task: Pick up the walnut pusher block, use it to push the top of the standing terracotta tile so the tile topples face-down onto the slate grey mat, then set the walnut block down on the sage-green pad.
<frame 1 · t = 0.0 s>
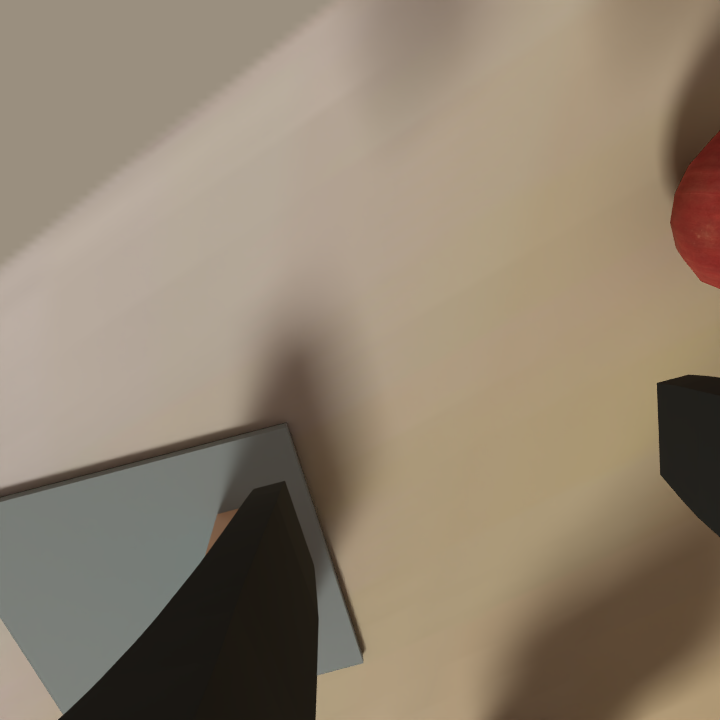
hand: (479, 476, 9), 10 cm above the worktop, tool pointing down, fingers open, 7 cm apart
mat: (174, 591, 22), on the worktop
tile: (261, 574, 21), resting on mat
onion: (692, 200, 18), on the worktop
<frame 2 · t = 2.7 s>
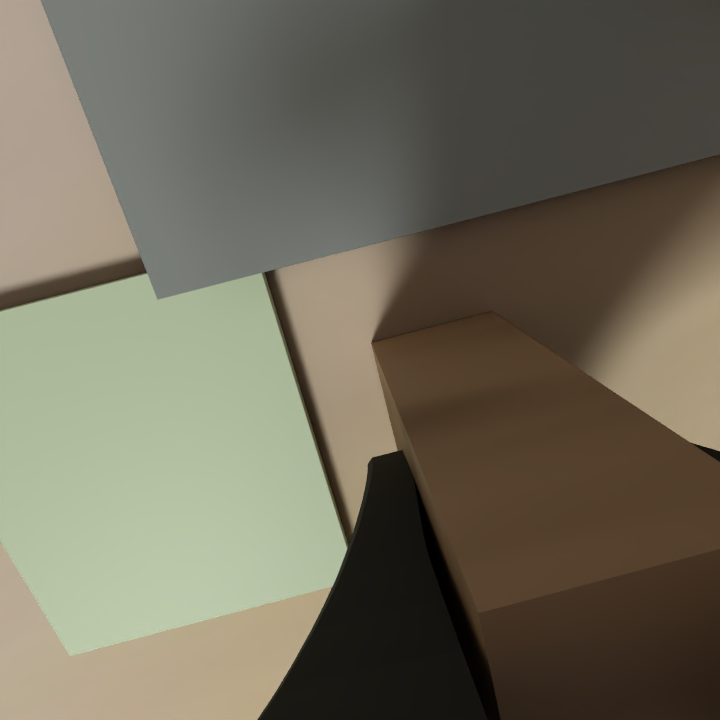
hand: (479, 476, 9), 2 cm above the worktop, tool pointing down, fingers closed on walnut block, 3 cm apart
walnut block: (452, 430, 11), on the worktop, touching gripper
rest pad: (155, 466, 11), on the worktop
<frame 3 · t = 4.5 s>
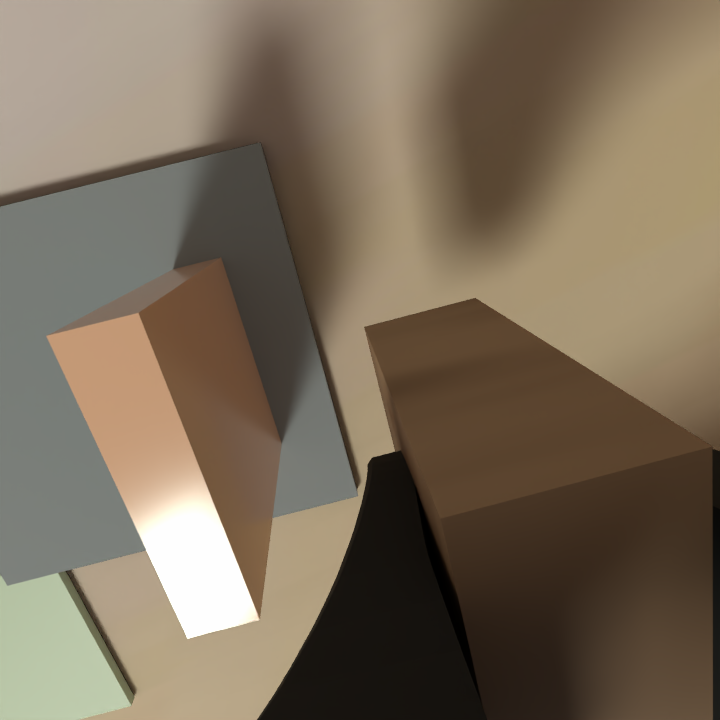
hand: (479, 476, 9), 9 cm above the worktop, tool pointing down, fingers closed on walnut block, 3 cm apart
walnut block: (440, 409, 12), point 6 cm above the worktop, touching gripper
mat: (122, 386, 17), on the worktop
rest pad: (16, 651, 21), on the worktop
tile: (231, 362, 17), resting on mat
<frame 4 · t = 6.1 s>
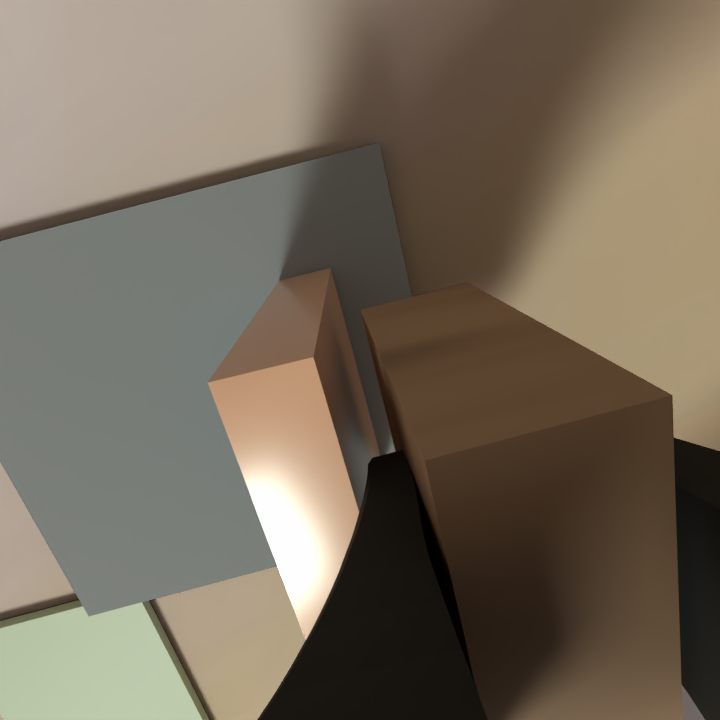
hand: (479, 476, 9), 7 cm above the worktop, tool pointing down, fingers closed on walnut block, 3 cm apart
walnut block: (433, 391, 12), point 4 cm above the worktop, touching gripper
mat: (216, 405, 16), on the worktop
rest pad: (93, 683, 19), on the worktop
tile: (334, 379, 16), resting on mat, touching gripper
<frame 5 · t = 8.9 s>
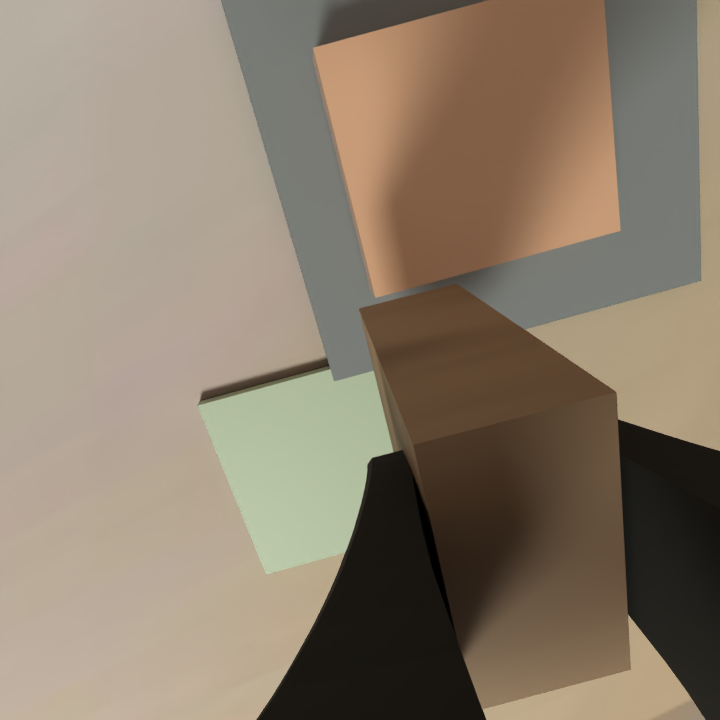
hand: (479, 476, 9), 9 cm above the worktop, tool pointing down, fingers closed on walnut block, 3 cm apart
walnut block: (425, 382, 14), point 5 cm above the worktop, touching gripper
mat: (485, 145, 16), on the worktop
rest pad: (320, 466, 20), on the worktop
tile: (597, 114, 15), point 1 cm above the worktop, tilted 90°, touching mat
when the fingers open (4 cm above the worktop, at t = 10.6 s): walnut block stays where it is, resting on rest pad.
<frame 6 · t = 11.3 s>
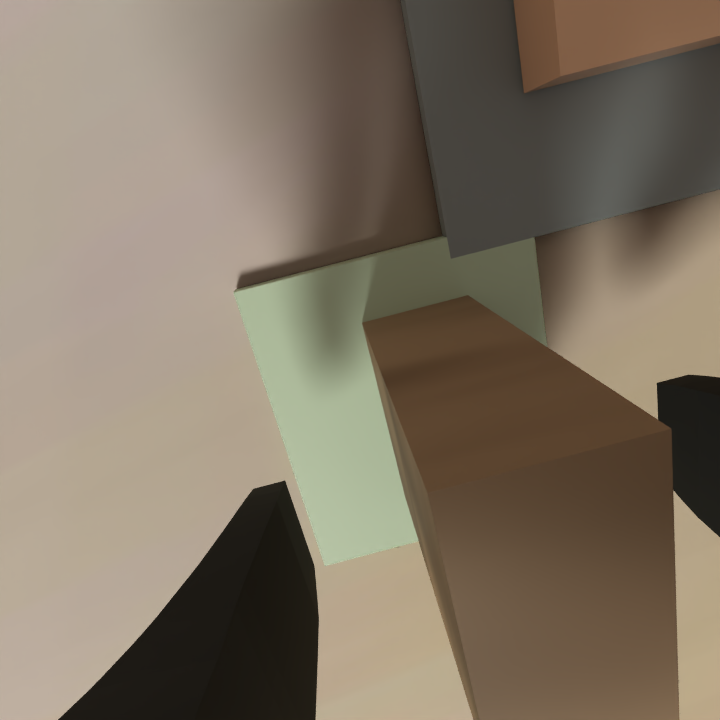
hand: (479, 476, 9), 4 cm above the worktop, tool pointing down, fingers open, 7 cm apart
walnut block: (434, 402, 12), resting on rest pad
rest pad: (414, 402, 13), on the worktop
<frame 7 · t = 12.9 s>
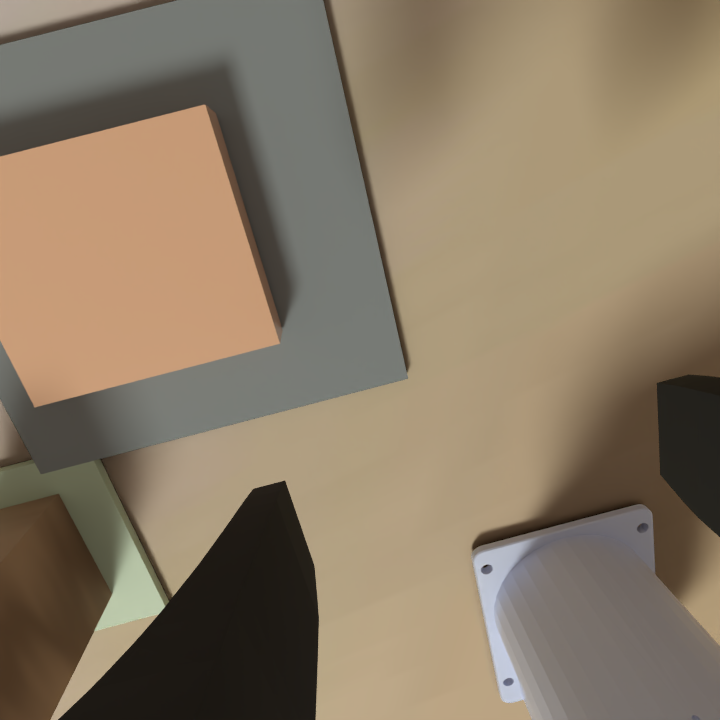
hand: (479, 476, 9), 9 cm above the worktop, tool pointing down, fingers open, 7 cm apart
walnut block: (54, 554, 19), resting on rest pad
mat: (163, 251, 16), on the worktop
rest pad: (49, 551, 20), on the worktop
tile: (248, 231, 15), point 1 cm above the worktop, tilted 90°, touching mat
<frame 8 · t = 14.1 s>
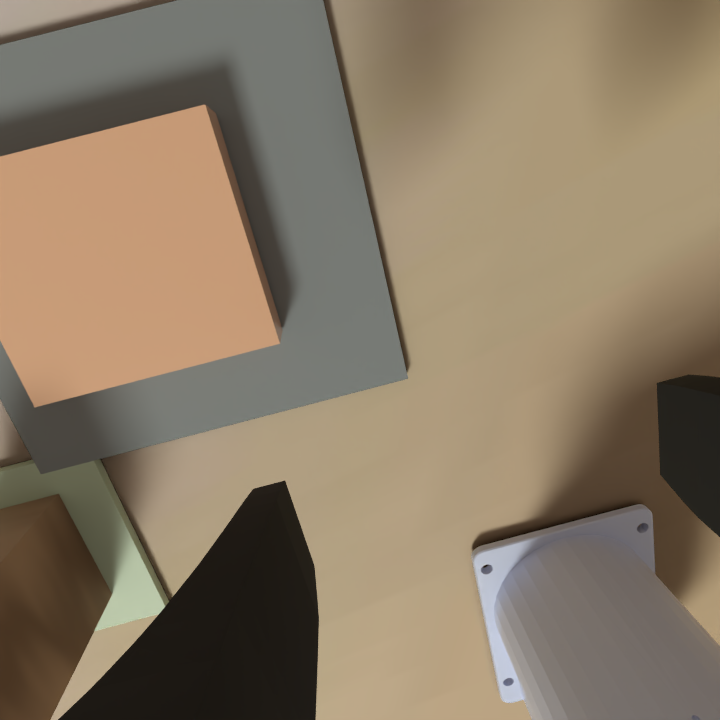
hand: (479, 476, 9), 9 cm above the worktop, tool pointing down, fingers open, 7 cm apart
walnut block: (54, 554, 19), resting on rest pad
mat: (163, 251, 16), on the worktop
rest pad: (49, 551, 20), on the worktop
tile: (248, 231, 15), point 1 cm above the worktop, tilted 90°, touching mat
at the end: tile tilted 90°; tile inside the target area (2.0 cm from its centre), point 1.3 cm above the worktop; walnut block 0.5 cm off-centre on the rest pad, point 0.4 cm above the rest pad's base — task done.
